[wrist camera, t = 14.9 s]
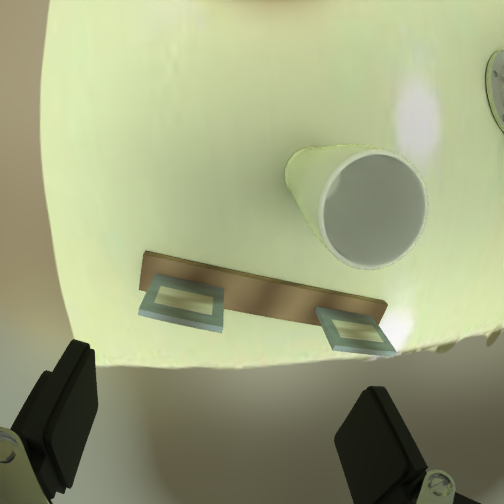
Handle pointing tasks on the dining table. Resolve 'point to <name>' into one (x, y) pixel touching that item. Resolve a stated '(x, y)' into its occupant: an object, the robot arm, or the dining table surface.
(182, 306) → the stand
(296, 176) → the drinking glass
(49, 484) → the robot arm
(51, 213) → the dining table surface
